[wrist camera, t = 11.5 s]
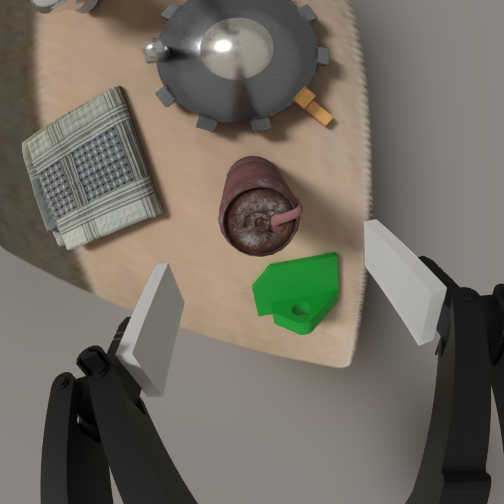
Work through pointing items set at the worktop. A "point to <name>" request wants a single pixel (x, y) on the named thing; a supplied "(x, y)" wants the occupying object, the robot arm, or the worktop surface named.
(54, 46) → the worktop surface
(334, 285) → the bracket
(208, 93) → the sprocket
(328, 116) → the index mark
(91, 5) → the light bulb
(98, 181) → the dish towel
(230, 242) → the can
